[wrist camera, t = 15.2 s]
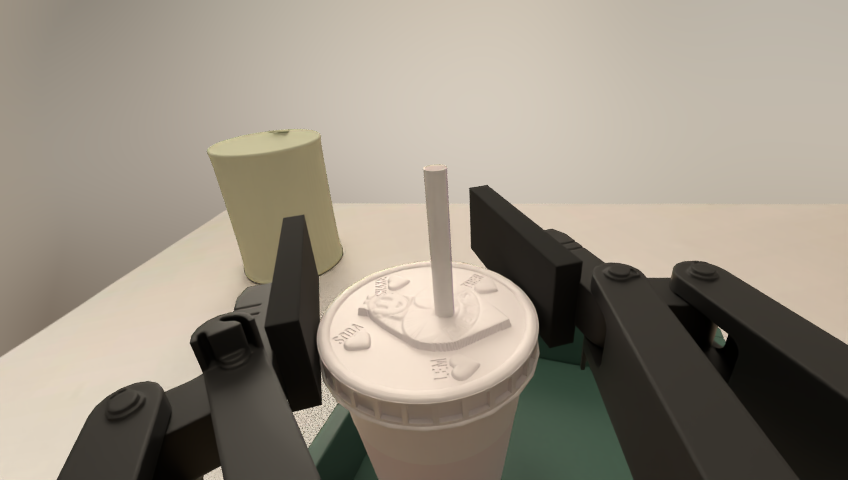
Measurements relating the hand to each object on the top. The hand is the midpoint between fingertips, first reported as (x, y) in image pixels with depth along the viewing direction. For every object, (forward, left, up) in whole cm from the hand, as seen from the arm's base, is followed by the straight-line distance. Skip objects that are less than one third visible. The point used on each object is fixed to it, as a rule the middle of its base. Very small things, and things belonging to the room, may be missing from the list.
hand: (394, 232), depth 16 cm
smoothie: (-4, -3, -10) cm, 11 cm away
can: (+14, +18, -12) cm, 26 cm away
